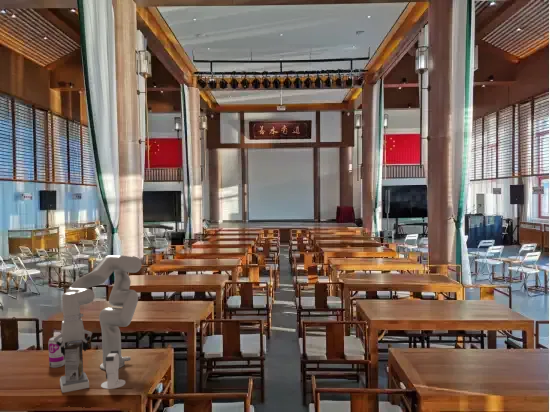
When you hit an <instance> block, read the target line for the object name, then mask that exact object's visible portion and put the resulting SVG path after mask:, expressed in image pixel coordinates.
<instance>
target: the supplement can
mask: <svg viewBox="0 0 550 412" xmlns="http://www.w3.org/2000/svg"><path fill="white" fill-rule="evenodd" d="M55 337H56V336H52V337H50V338H49V340H48V342H47V343H48V345H47V346H48V365H49V367H50V368H53V369H55V368H61V367H64V366H65V355H63V353H61V347H60V346H59V345H57V344H56V342H55V341H54V338H55ZM58 341H59V342H60V343H61V342H62V341H63V340H62V337H61V338H59V339H58ZM65 347H66V343H65V344H64V348H65Z"/></svg>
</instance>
